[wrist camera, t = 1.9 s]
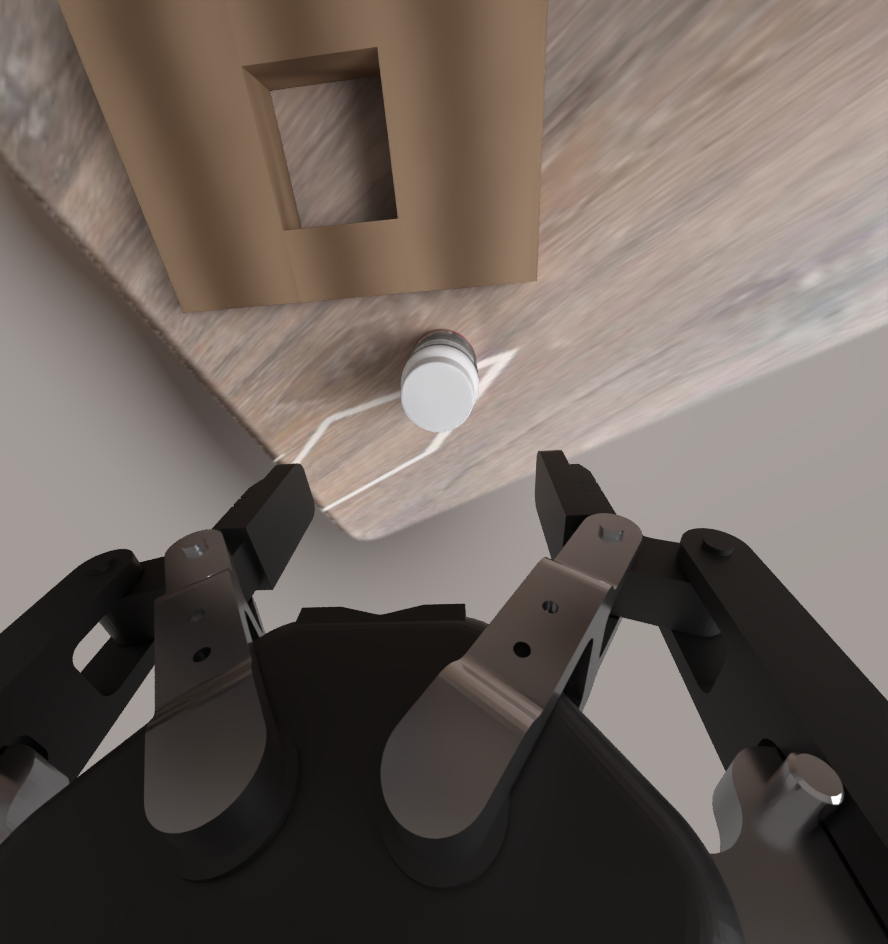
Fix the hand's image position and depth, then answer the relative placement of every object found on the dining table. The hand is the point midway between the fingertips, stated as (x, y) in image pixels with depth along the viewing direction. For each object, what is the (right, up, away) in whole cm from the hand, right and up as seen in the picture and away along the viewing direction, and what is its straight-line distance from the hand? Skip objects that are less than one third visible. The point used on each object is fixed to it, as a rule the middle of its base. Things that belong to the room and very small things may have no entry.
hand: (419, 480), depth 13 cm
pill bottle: (+1, +8, +15) cm, 17 cm away
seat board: (-5, +18, +9) cm, 21 cm away
